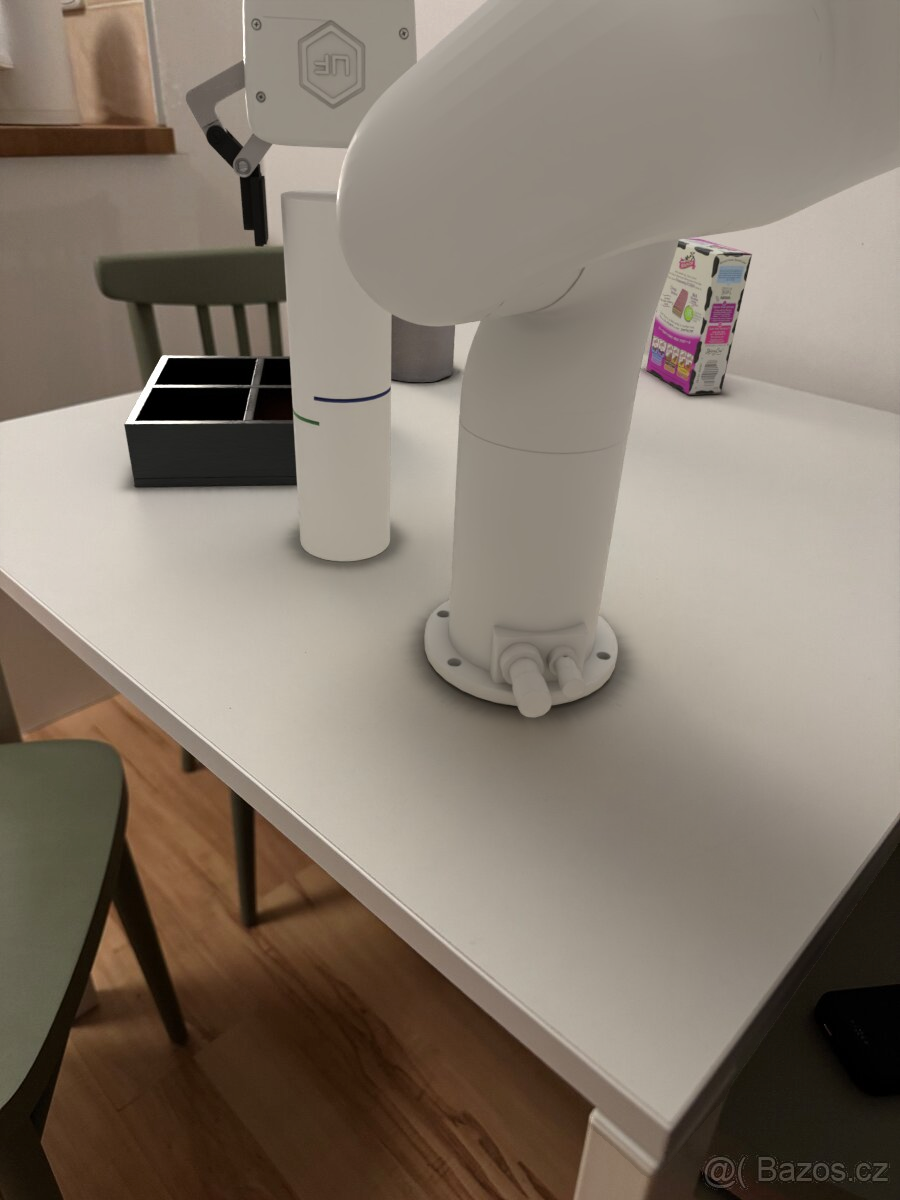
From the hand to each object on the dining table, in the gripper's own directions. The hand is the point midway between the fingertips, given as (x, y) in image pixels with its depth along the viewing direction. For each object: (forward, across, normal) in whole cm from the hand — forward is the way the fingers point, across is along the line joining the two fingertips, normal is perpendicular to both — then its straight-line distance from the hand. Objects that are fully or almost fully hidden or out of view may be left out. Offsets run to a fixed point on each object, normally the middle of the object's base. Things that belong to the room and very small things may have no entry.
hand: (335, 244), depth 56 cm
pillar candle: (+22, +10, +45) cm, 51 cm away
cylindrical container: (+22, 0, 0) cm, 22 cm away
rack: (+22, -8, +21) cm, 31 cm away
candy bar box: (+22, +44, +41) cm, 64 cm away
